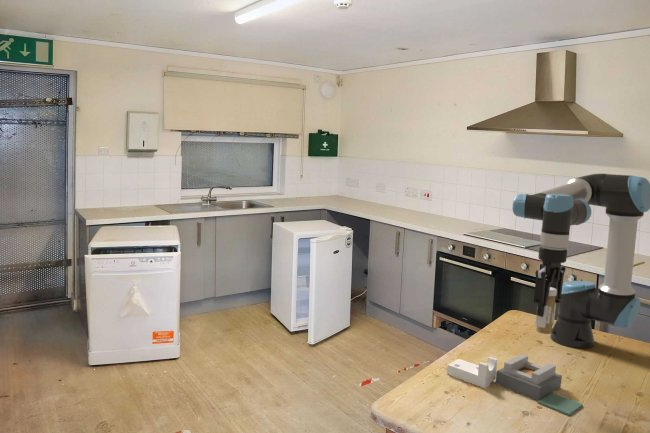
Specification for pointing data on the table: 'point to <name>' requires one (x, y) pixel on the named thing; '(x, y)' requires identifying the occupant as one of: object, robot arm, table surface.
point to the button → (527, 372)
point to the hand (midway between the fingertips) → (544, 324)
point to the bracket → (474, 371)
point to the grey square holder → (528, 378)
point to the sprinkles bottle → (549, 312)
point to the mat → (560, 404)
